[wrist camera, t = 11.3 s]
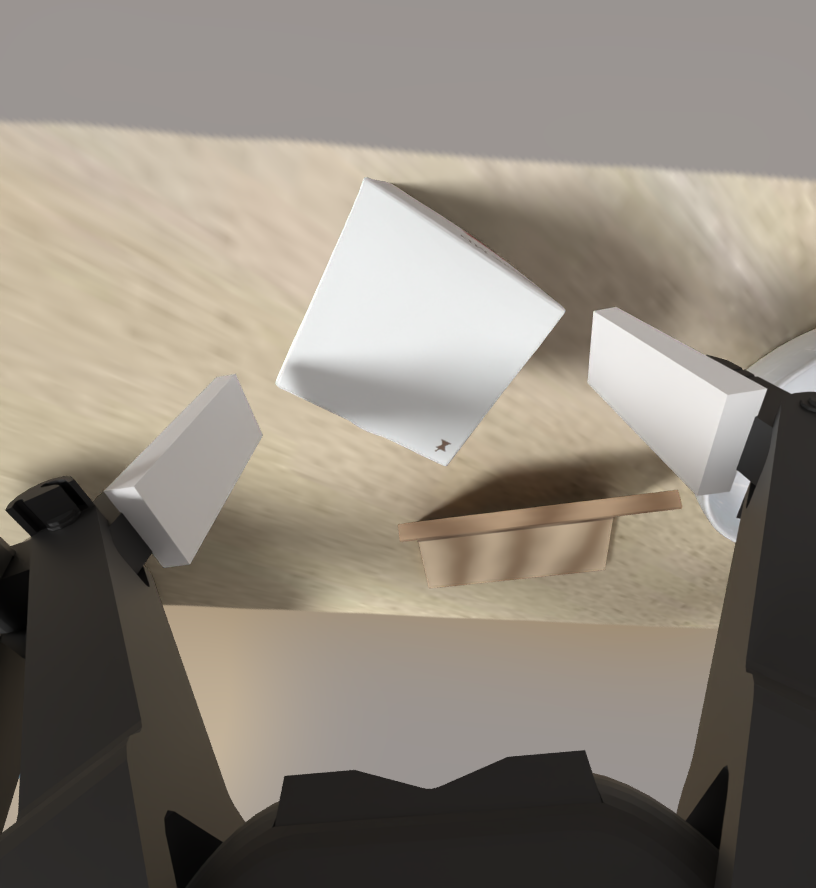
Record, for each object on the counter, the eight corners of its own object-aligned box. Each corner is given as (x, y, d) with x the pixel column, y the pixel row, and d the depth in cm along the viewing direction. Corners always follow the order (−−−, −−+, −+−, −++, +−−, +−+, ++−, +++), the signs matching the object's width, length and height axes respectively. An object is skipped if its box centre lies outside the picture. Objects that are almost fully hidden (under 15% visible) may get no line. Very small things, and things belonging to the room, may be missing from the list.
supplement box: (501, 254, 27) (579, 313, 15) (433, 360, 32) (448, 474, 19) (386, 175, 25) (363, 165, 12) (330, 302, 29) (269, 390, 17)
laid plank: (428, 579, 47) (428, 589, 46) (416, 527, 42) (416, 536, 41) (600, 561, 45) (605, 570, 44) (608, 503, 40) (614, 512, 39)
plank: (414, 521, 41) (416, 534, 41) (397, 524, 29) (399, 542, 29) (611, 497, 39) (614, 510, 39) (678, 489, 27) (682, 508, 27)
